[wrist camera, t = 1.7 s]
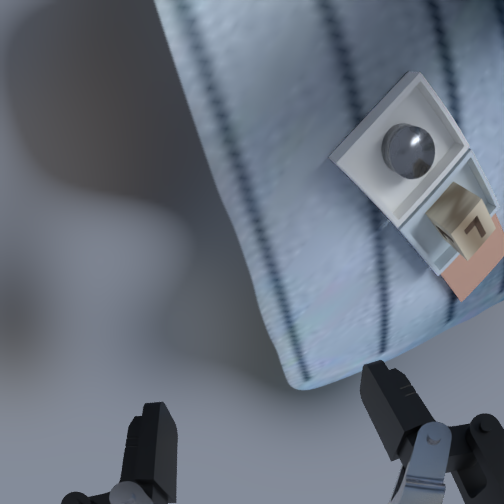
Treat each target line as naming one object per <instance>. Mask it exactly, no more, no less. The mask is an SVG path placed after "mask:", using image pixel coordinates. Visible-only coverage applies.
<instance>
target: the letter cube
mask: <svg viewBox="0 0 504 504" xmlns="http://www.w3.org/2000/svg"><path fill="white" fill-rule="evenodd" d="M425 214H426V215H427V216H428V218H429V219H430V221H431V222H432V223H433V225H434V226H435V227H436V229H437V230H438V232H439V233H440V234H441V236H442V237H443V239H444V240H445V241H446V242H448V243H449V244H450V245H451V246H452V247H453V248H454V249H455V250H456V251H457V252H459V253H460V254H461V255H462V256H463V257H464V258H465V259H466V260H467V261H468V260H469V259H470V258H471V257H472V256H473V255H474V253H475V252H476V251H477V250H478V249H479V248H480V247H481V246H482V244H483V243H484V242H485V241H486V240H487V239H488V237H489V236H490V235H491V234H492V233H493V231H494V230H495V229H496V227H495V225H494V223H493V221H492V219H491V216H490V214H489V212H488V210H487V208H486V206H485V204H484V202H483V200H482V198H480V197H478V196H477V195H475V194H474V193H472V192H470V191H469V190H467V189H465V188H464V187H462V186H460V185H459V184H457V183H455V182H452V183H451V185H450V186H449V187H448V188H447V189H446V190H445V192H444V193H443V194H442V195H441V196H440V197H439V198H438V199H437V201H436V202H435V203H434V204H433V205H432V206H431V207H430V208H429V209H428V210H427V212H426V213H425Z"/></svg>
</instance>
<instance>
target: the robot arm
mask: <svg viewBox="0 0 504 504" xmlns="http://www.w3.org/2000/svg"><path fill="white" fill-rule="evenodd" d="M360 394H361V399H362V401H363V404H364V406H365V408H366V410H367V412H368V414H369V416H370V418H371V420H372V422H373V424H374V426H375V428H376V430H377V432H378V434H379V437H380V439H381V441H382V443H383V445H384V447H385V449H386V451H387V453H388V455H389V457H390V460H391V461H394V460H396V459H399V458H400V460H401V462H402V466H401V469H400V472H399V475H398V478H397V481H396V484H395V487H394V490H393V492H392V495H391V498H390V501H389V503H388V504H442V502H443V498H444V494H445V488H446V487H445V484H443V480H444V476H445V473H447V472H451V474H452V476H453V478H454V480H455V482H456V484H457V487H458V488H459V491H460V493H461V495H462V498H463V500H464V502H465V504H504V429H503V428H502V426H501V424H500V423H499V421H498V420H497V419H496V418H495V417H494V416H493V415H490V414H480V415H477V416H476V417H474V418H473V420H472V421H471V423H470V424H465V425H459V426H452V427H449V426H446V425H445V424H443V423H440V422H436V421H435V420H434V419H433V417H432V416H431V414H430V412H429V411H428V409H427V408H426V406H425V405H424V403H423V402H422V400H421V398H420V397H419V395H418V394H417V393H416V391H415V389H414V388H413V386H411V383H410V382H409V380H408V379H407V377H406V376H405V374H403V373H402V372H400V371H399V370H397V369H396V368H394V369H391V370H389V369H388V368H387V366H386V365H385V363H384V362H383V361H382V360H378V361H375V362H372V363H369V364H365V365H364V366H363V370H362V378H361V385H360ZM177 441H178V434H177V428H176V424H175V422H174V420H173V418H172V417H171V415H170V413H169V411H168V409H167V407H166V405H165V404H164V402H155V403H145V405H144V407H143V413H142V416H135V417H134V419H133V421H132V422H131V423H130V425H129V427H128V433H127V439H126V448H125V452H124V458H123V465H122V472H121V478H120V482H119V483H118V484H116V485H115V486H114V487H113V488H112V489H111V491H110V492H108V493H105V494H100V495H96V496H91V497H87V496H86V495H84V494H83V493H80V492H71V493H69V494H67V495H66V496H65V497H64V498H63V500H62V503H61V504H168V503H176V477H177Z"/></svg>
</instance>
